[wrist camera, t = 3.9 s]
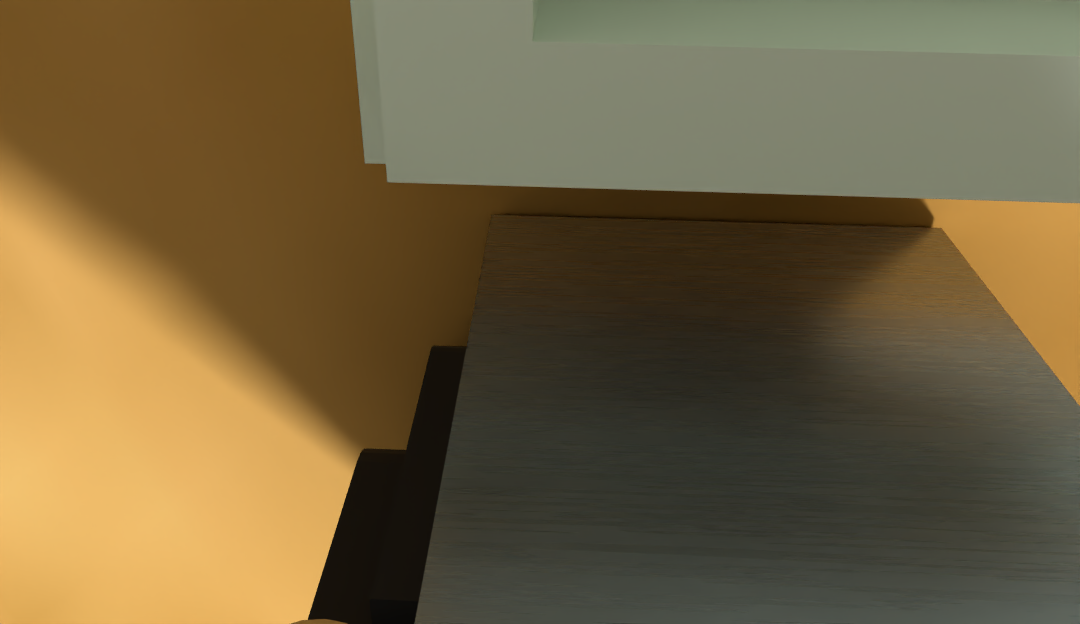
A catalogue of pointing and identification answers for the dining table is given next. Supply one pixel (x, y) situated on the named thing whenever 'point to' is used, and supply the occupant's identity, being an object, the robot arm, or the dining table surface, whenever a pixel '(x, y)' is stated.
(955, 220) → the dining table surface
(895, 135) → the chassis
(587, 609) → the block
